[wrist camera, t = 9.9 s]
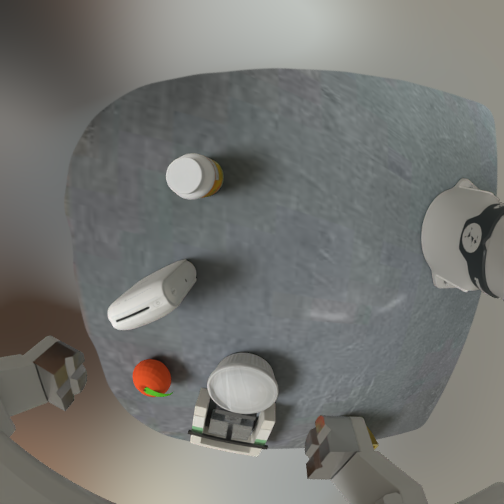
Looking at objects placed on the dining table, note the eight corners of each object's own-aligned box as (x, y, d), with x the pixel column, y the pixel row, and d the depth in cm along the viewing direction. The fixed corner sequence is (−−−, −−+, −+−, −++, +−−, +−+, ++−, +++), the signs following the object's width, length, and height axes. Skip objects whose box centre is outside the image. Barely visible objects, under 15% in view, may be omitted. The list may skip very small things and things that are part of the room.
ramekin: (200, 362, 44) (192, 381, 39) (254, 335, 42) (252, 354, 37) (237, 401, 46) (233, 421, 41) (289, 380, 44) (290, 400, 39)
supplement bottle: (192, 201, 37) (167, 208, 28) (181, 165, 36) (154, 160, 27) (228, 190, 36) (214, 192, 27) (218, 153, 35) (200, 143, 26)
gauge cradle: (275, 402, 45) (275, 422, 40) (259, 439, 48) (258, 457, 43) (201, 387, 45) (195, 406, 40) (195, 426, 48) (190, 443, 43)
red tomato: (185, 363, 44) (173, 389, 37) (177, 387, 46) (166, 413, 39) (143, 345, 44) (127, 368, 37) (139, 371, 45) (124, 394, 39)
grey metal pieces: (278, 402, 45) (279, 425, 39) (264, 433, 47) (263, 454, 42) (198, 385, 45) (191, 407, 39) (193, 418, 47) (187, 439, 42)
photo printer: (188, 253, 39) (156, 283, 27) (202, 279, 40) (176, 317, 28) (136, 279, 41) (95, 312, 29) (149, 302, 41) (113, 341, 29)
